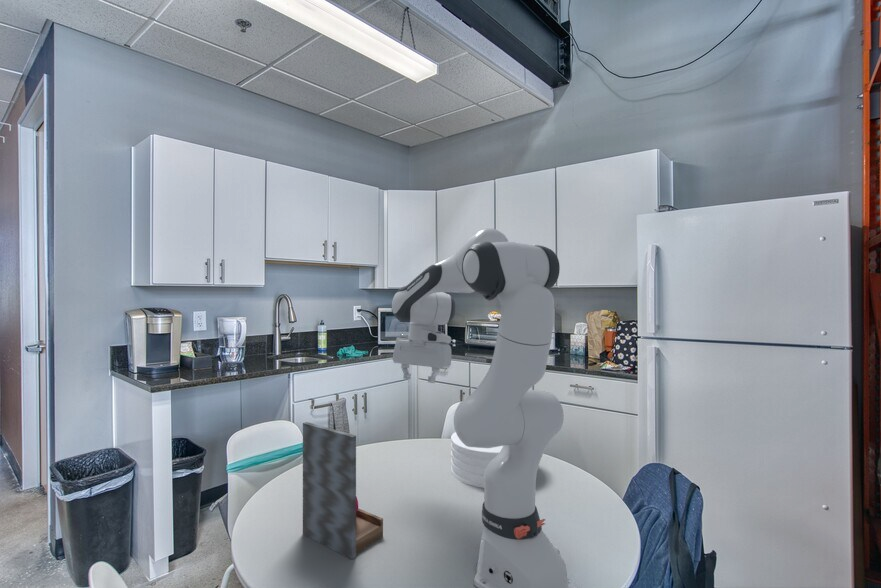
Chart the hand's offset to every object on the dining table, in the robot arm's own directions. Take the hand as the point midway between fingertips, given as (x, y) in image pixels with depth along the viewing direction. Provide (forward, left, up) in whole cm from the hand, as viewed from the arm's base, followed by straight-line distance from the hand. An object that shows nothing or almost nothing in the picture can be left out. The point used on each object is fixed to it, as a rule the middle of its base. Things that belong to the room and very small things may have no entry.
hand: (418, 380), depth 136 cm
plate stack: (0, -29, -34) cm, 45 cm away
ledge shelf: (-11, +28, -34) cm, 45 cm away
